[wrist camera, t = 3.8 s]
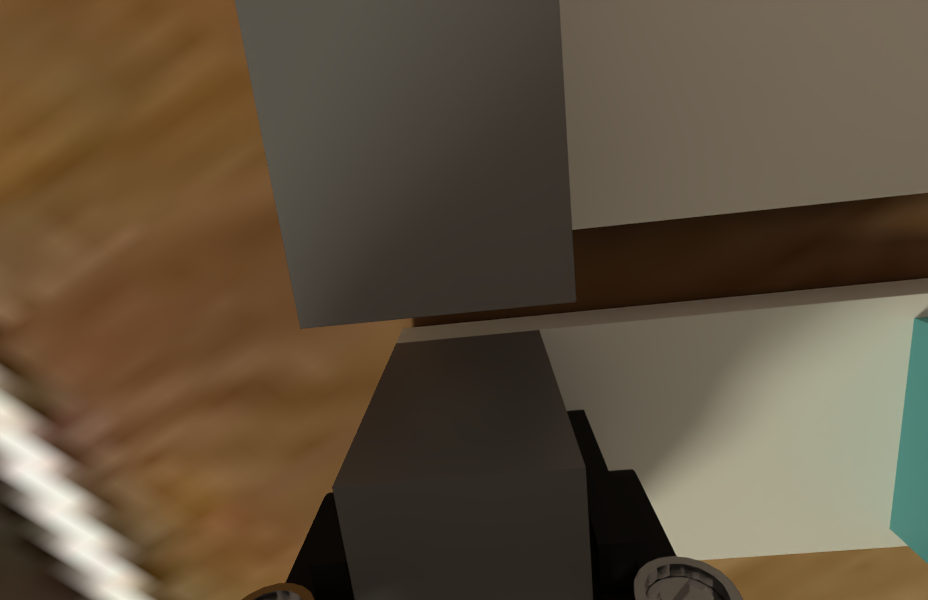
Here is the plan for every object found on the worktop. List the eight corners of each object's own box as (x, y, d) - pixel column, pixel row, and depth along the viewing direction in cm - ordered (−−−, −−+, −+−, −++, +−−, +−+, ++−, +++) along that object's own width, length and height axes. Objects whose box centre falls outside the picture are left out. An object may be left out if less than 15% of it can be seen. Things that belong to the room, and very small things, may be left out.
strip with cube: (1253, 246, 11) (2098, 348, 5) (1183, 494, 13) (1776, 781, 7) (403, 328, 12) (332, 486, 6) (435, 548, 14) (402, 837, 8)
